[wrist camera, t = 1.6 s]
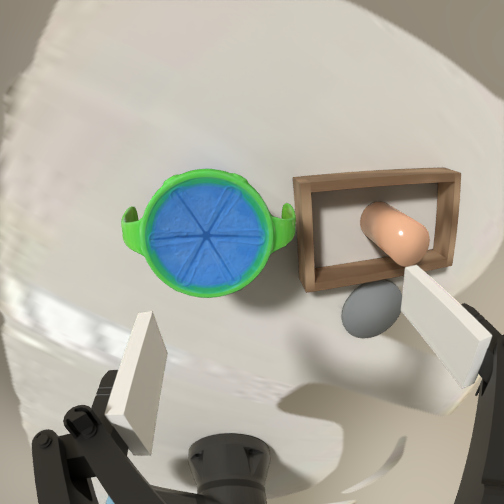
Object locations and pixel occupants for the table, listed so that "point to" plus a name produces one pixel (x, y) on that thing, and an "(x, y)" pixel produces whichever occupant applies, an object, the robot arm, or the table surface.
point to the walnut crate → (381, 266)
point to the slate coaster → (372, 308)
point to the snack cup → (207, 232)
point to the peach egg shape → (395, 233)
